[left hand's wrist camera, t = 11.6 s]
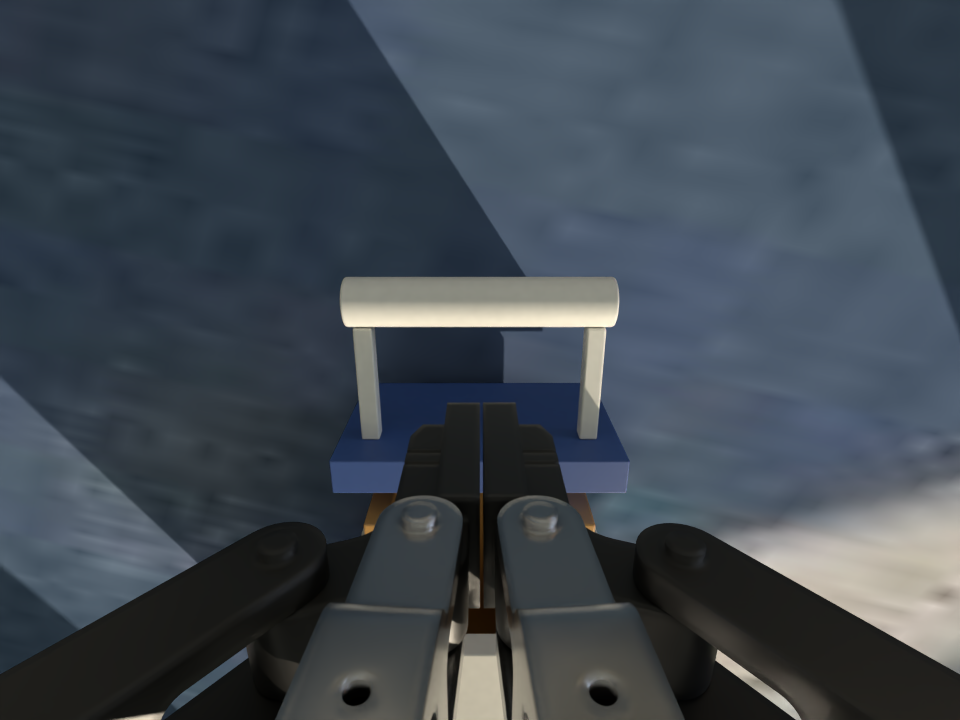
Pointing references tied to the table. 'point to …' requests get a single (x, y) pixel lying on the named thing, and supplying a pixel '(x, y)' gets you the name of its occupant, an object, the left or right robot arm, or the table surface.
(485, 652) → the cabinet
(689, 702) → the left robot arm
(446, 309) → the drawer
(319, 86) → the table surface
